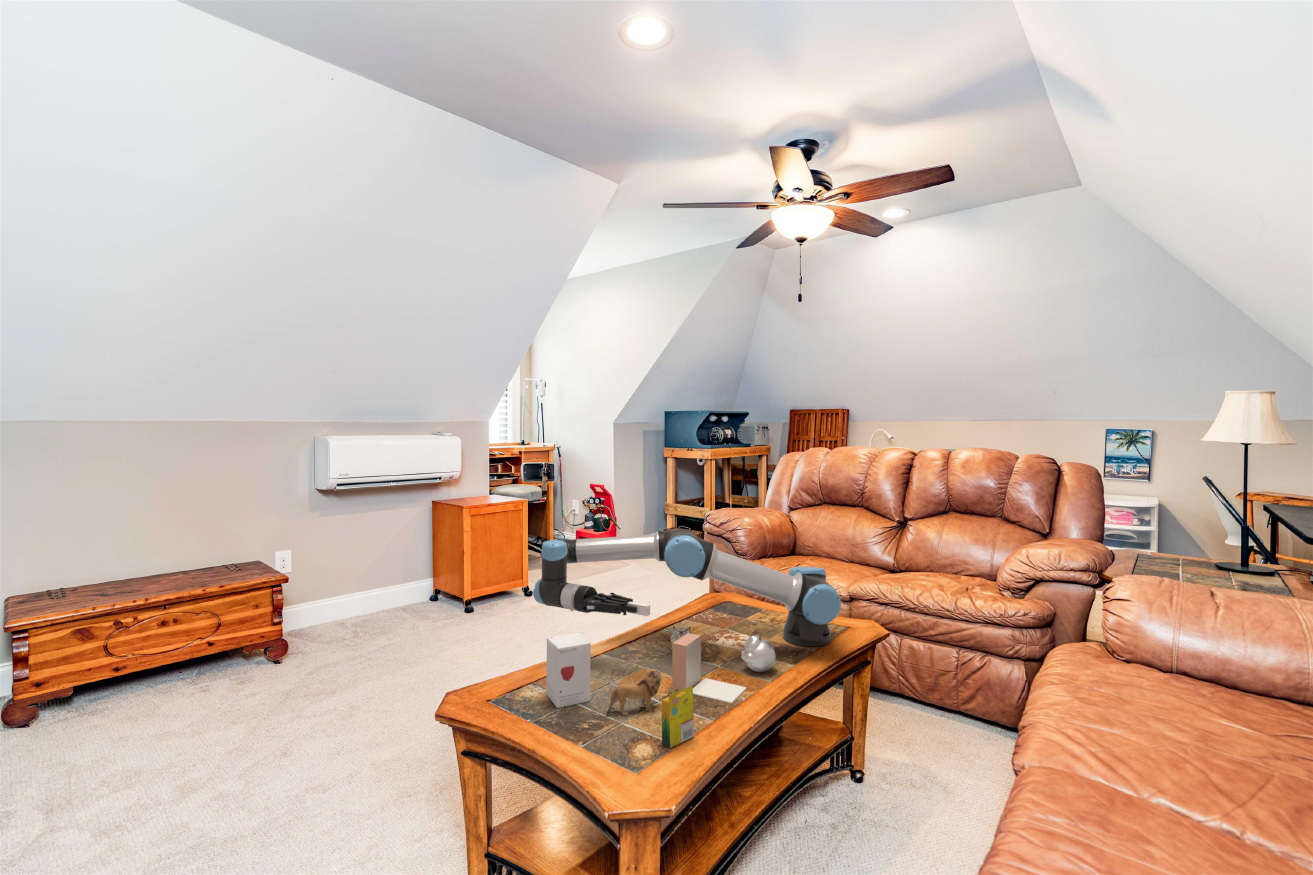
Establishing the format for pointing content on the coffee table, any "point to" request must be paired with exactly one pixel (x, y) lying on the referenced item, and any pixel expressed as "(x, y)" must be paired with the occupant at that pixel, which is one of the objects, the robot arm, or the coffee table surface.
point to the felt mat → (718, 690)
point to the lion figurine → (637, 691)
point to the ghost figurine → (758, 654)
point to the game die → (678, 634)
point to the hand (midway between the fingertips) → (648, 610)
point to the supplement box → (568, 669)
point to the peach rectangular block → (686, 661)
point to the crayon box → (677, 717)
